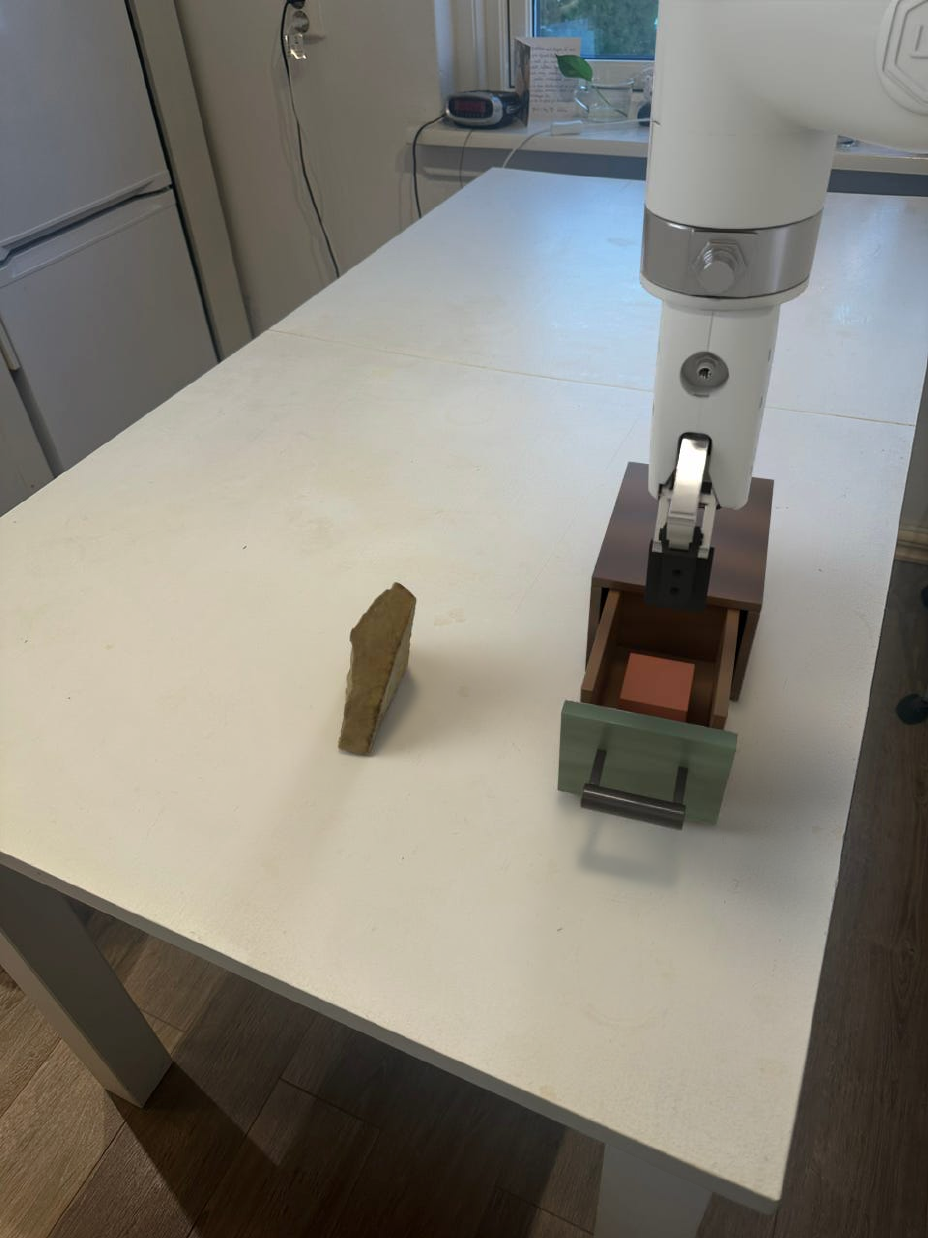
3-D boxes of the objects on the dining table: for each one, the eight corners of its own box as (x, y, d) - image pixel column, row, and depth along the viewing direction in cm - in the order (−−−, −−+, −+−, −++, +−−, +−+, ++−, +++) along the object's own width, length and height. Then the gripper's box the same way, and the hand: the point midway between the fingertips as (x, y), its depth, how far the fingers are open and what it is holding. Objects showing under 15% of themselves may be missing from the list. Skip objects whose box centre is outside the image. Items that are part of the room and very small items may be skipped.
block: (686, 707, 62) (695, 664, 59) (679, 754, 59) (687, 711, 56) (625, 696, 63) (630, 652, 60) (614, 741, 60) (619, 697, 57)
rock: (382, 766, 59) (473, 668, 63) (303, 671, 56) (403, 576, 61) (318, 758, 68) (402, 672, 72) (247, 675, 65) (338, 592, 70)
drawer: (709, 883, 53) (730, 806, 48) (542, 843, 56) (544, 766, 50) (734, 670, 66) (753, 591, 61) (598, 645, 69) (605, 568, 63)
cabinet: (738, 701, 65) (762, 604, 58) (584, 672, 68) (591, 576, 61) (752, 572, 76) (774, 479, 69) (619, 552, 79) (628, 460, 72)
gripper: (810, 332, 32) (740, 665, 43) (818, 190, 44) (762, 479, 55) (606, 318, 34) (591, 640, 45) (668, 186, 46) (643, 466, 57)
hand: (685, 551), depth 50 cm, fingers open, 9 cm apart
